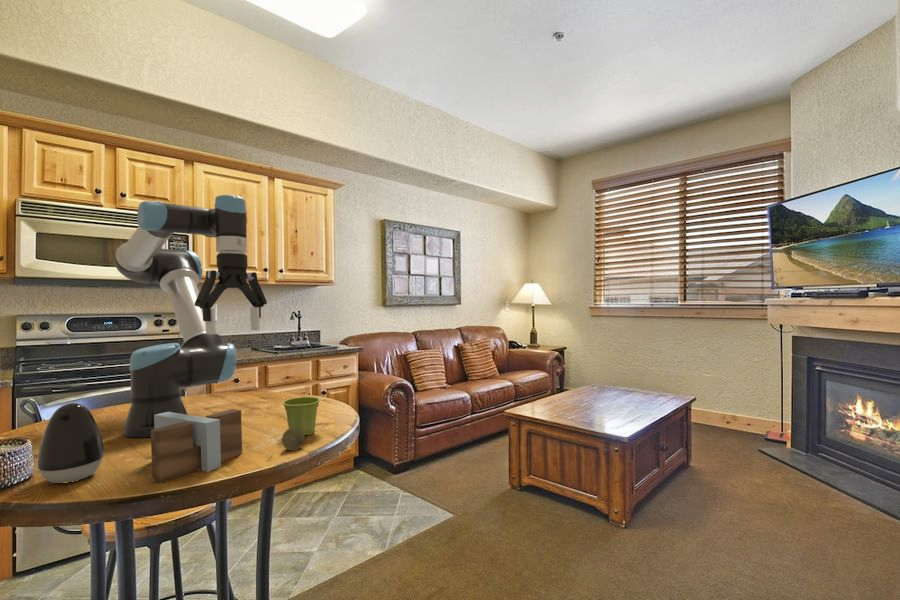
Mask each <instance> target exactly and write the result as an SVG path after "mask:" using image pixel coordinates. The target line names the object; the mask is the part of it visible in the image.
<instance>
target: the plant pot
mask: <svg viewBox="0 0 900 600" xmlns="http://www.w3.org/2000/svg"><path fill="white" fill-rule="evenodd" d="M320 402H321V398H319V397H316V396H299V397H292V398H289V399H286V400H283V401H282V405H283V407H284V409H285V412H286V413H285V414H286V419H287V424H288V425H287V426H288V429H289V428H298V429H300V430H301V431H302V432H303V433H304V436H311V435H313V434H314V433H315V429H316V419H317V412H318V408H319V403H320Z"/></svg>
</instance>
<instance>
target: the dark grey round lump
mask: <svg viewBox="0 0 900 600" xmlns="http://www.w3.org/2000/svg"><path fill="white" fill-rule="evenodd" d="M305 439H306V438H305V435H304V433H303V432H302V431H301V430H300V429H298V428H289V427H288V428H287V430H285V431H284V432H283V434H282V438H281V443H282V445H283V447H284V448H285V449H286V450H289V451H292V452H293V451H297V450H299V449H300V448H301V447H303V445H304V443H305Z"/></svg>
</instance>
